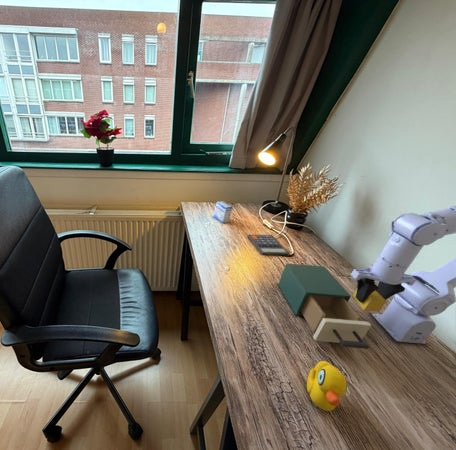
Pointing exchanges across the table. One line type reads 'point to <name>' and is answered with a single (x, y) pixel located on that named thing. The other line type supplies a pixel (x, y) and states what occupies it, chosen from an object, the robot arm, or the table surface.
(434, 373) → the table surface
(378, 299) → the block
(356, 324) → the drawer
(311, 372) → the duckling
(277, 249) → the calculator
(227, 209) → the medicine box
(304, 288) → the cabinet
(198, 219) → the table surface
